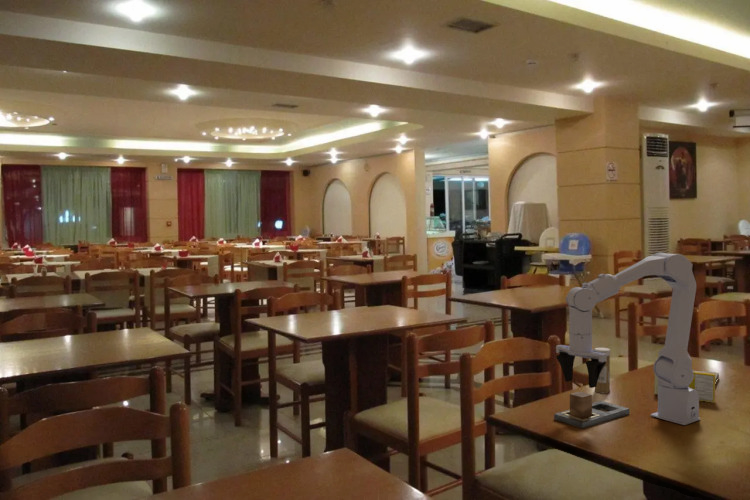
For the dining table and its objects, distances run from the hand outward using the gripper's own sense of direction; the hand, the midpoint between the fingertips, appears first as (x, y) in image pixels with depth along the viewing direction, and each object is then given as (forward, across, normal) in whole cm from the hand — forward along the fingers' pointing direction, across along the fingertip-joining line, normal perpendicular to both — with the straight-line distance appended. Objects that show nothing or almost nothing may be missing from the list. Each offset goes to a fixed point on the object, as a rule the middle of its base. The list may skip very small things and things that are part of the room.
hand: (580, 383), depth 161 cm
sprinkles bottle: (+10, -13, +28) cm, 32 cm away
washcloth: (+11, -2, +61) cm, 62 cm away
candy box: (+10, +5, +42) cm, 43 cm away
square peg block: (+10, 0, 0) cm, 10 cm away
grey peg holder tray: (+10, 0, +5) cm, 11 cm away
